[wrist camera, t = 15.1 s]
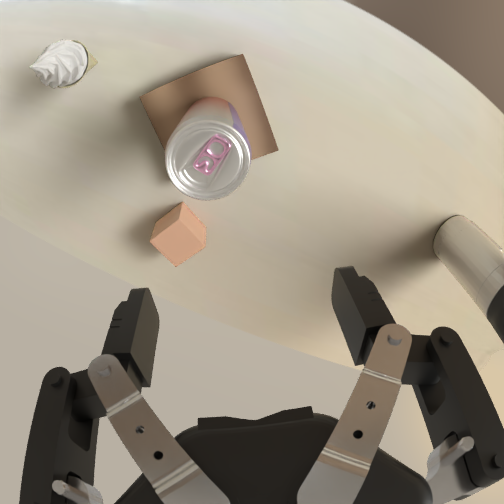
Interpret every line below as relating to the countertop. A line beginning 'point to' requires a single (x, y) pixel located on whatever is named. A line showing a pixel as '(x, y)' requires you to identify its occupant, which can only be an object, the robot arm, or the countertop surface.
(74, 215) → the countertop surface
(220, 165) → the beverage can
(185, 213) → the terracotta cube
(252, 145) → the pedestal
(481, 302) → the robot arm
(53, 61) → the ice cream cone
